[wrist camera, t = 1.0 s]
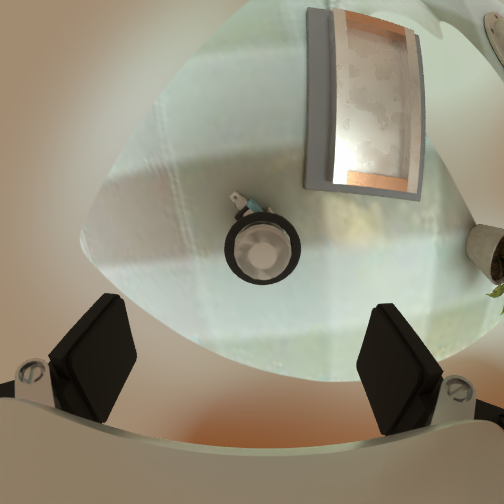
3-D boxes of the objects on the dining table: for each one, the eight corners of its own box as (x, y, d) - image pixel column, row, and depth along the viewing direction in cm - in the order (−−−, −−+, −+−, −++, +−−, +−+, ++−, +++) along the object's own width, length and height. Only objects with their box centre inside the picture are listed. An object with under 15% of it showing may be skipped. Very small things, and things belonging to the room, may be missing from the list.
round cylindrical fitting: (215, 210, 27) (191, 240, 18) (253, 173, 26) (249, 183, 16) (260, 255, 29) (260, 304, 19) (298, 221, 27) (318, 257, 18)
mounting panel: (413, 38, 19) (418, 35, 18) (414, 199, 26) (419, 201, 25) (306, 12, 19) (308, 7, 18) (303, 188, 26) (305, 189, 25)
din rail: (404, 36, 18) (413, 30, 16) (406, 190, 24) (416, 193, 22) (328, 16, 18) (333, 7, 16) (327, 180, 25) (333, 183, 23)
